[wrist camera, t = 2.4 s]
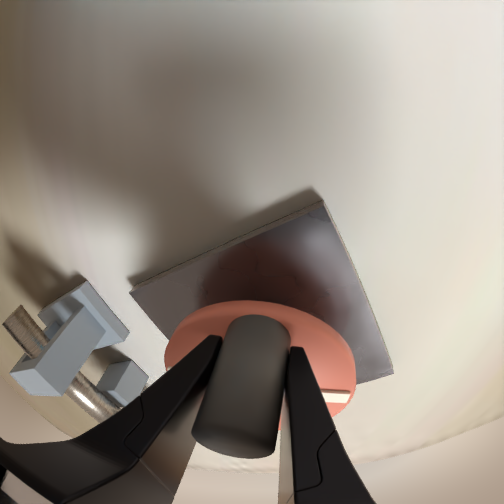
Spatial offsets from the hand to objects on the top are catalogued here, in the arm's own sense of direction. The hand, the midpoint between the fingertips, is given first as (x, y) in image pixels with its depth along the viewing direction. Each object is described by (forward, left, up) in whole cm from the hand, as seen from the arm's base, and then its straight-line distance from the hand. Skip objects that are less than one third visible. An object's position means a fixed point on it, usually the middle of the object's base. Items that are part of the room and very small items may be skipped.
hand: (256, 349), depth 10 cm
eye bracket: (-13, 0, -4) cm, 14 cm away
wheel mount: (-1, -3, -4) cm, 5 cm away
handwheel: (-1, -3, -2) cm, 4 cm away
